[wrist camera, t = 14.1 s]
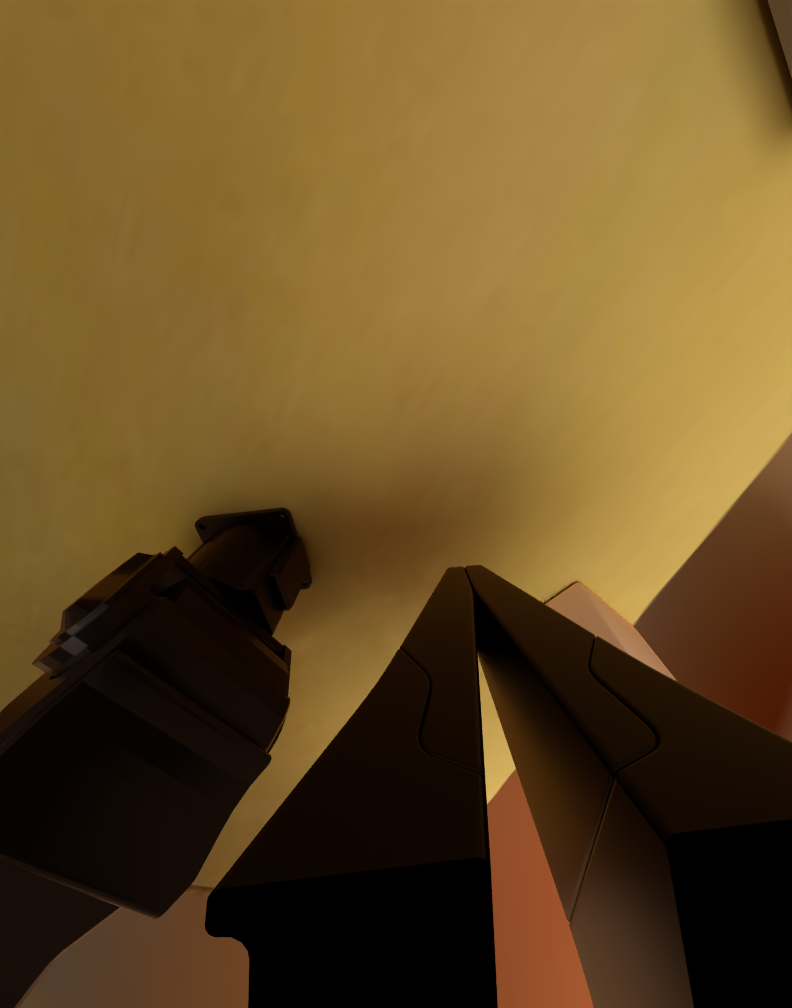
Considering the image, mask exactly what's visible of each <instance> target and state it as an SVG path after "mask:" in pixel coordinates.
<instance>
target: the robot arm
mask: <svg viewBox="0 0 792 1008" xmlns="http://www.w3.org/2000/svg"><path fill="white" fill-rule="evenodd" d="M279 514H281V515H283V516H284V517H285V518H281V517H280V516H279ZM202 523H203V524H205V526H206V527H205V526H203V524H202ZM195 527H196V530H197V532H198V534H199V536H200V538H201V540H202V542H203V544H202V545H201V546H200V547H199V548H198V549H197V550H196V551H194V552H193V553H192V554H191V555H190V556H189V557H188V558H187V559H186V558H185V557H183V556H182V555H183V553H182V552H181V551H180V550H179V549H178V548H177V547H176V546H174V547H173V548H171V549H170V550H168V551H167V552H165V553H164V554H162V553H161V552H160V553H158V554H156V555H155V554H154V555H149V554H143V553H137V554H135V555H134V556H133V557H131V558H130V559H128V560H127V561H126V562H124V563H123V564H122V565H121V566H119V567H118V568H117V569H115V570H114V571H113V572H111V573H110V574H109V575H107V576H106V577H105V578H103V579H102V580H101V581H100V582H98V583H97V584H96V585H95V586H93V587H92V588H91V589H90V590H88V591H87V592H86V593H85V594H84V595H82V596H81V597H80V598H79V599H77V600H76V601H75V602H74V603H73V604H71V605H70V606H69V607H68V608H66V609H65V610H64V611H63V614H62V621H61V628H60V631H59V632H58V633H57V634H56V635H55V636H54V637H53V638H52V639H51V640H50V643H51V644H50V645H49V646H48V647H47V648H46V649H45V650H44V651H43V652H42V653H41V654H40V655H39V656H38V657H37V658H36V659H35V661H34V662H33V663H32V664H33V665H34V666H36V667H38V668H39V669H41V670H43V671H44V672H45V673H44V674H43V675H42V676H41V677H40V678H38V679H37V680H36V681H35V682H34V683H32V684H31V685H30V686H29V687H28V688H27V689H25V690H24V691H23V692H22V693H21V694H20V695H18V696H17V697H16V698H15V699H14V700H13V701H11V702H10V703H9V704H8V705H7V706H6V707H5V708H4V709H3V710H2V711H1V712H0V1008H19V1007H20V1006H21V1004H22V1003H23V1002H24V1000H25V999H26V998H27V996H28V995H29V994H30V992H31V991H32V989H33V988H34V987H35V986H36V984H37V983H38V982H39V980H40V979H41V978H42V977H43V975H44V974H45V973H46V971H47V970H48V969H49V968H50V967H51V965H52V964H53V963H54V961H55V960H56V959H57V958H58V957H59V956H60V955H61V954H62V953H64V952H65V951H66V950H67V949H69V948H70V947H71V946H73V945H74V944H75V943H77V942H78V941H79V940H80V939H82V938H83V937H85V936H86V935H87V934H88V933H90V932H91V931H92V930H94V929H95V928H96V927H98V926H99V925H100V924H101V923H103V922H104V921H106V920H107V919H108V918H109V917H111V916H112V915H113V914H115V913H116V912H117V911H119V910H120V909H121V908H125V909H127V910H130V911H133V912H136V913H139V914H141V915H144V916H147V917H149V918H152V919H156V918H159V917H160V916H162V915H163V914H164V913H165V912H166V911H167V910H168V909H169V908H170V907H171V905H172V904H173V903H174V902H175V901H176V900H177V899H178V898H179V897H180V896H181V895H182V894H183V893H184V892H185V890H186V889H187V888H188V887H189V886H190V885H191V884H192V883H193V881H194V880H195V879H196V877H197V875H198V873H199V872H200V870H201V868H202V866H203V864H204V862H205V860H206V858H207V857H208V855H209V853H210V851H211V849H212V847H213V845H214V844H215V842H216V840H217V838H218V836H219V834H220V832H221V831H222V829H223V827H224V825H225V824H226V822H227V820H228V818H229V817H230V815H231V813H232V811H233V810H234V809H235V807H236V806H237V804H238V803H239V801H240V800H241V798H242V797H243V795H244V794H245V793H246V791H247V790H248V788H249V787H250V786H251V784H252V783H253V782H254V781H255V780H256V779H257V777H258V776H259V775H260V774H261V773H262V772H263V771H264V769H265V768H266V767H267V766H268V765H269V763H270V761H271V755H270V754H268V753H269V752H270V750H271V749H272V747H273V745H274V744H275V742H276V740H277V738H278V736H279V734H280V732H281V730H282V727H283V724H284V721H285V718H286V714H287V712H288V709H289V706H290V698H289V697H288V691H289V678H290V665H291V653H292V652H291V650H290V649H289V648H288V647H287V646H285V645H281V644H280V643H279V642H278V641H277V640H276V639H275V638H274V637H273V636H272V635H273V633H274V631H275V629H276V627H277V625H278V623H279V621H280V619H281V617H282V615H283V612H284V611H288V610H290V609H291V608H292V606H293V604H294V602H295V600H296V597H297V595H298V593H299V591H300V589H307V588H309V587H310V585H311V583H312V578H311V575H310V572H309V569H310V565H309V562H308V559H307V556H306V553H305V549H304V546H303V543H302V540H301V538H300V537H299V536H297V533H296V530H295V527H294V524H293V521H292V518H291V515H290V513H289V511H288V510H286V509H284V508H278V509H270V510H261V511H252V512H244V513H235V514H226V515H217V516H209V517H202V518H200V519H199V520H197V521H196V522H195ZM304 581H305V582H307V583H304ZM478 656H479V660H480V663H481V666H482V669H483V672H484V675H485V678H486V681H487V684H488V687H489V690H490V693H491V696H492V698H493V701H494V704H495V707H496V710H497V713H498V716H499V719H500V722H501V725H502V728H503V731H504V734H505V737H506V740H507V743H508V746H509V749H510V752H511V755H512V758H513V761H514V764H515V767H516V770H517V773H518V776H519V778H520V781H521V784H522V787H523V790H524V793H525V796H526V799H527V802H528V805H529V808H530V811H531V814H532V817H533V820H534V823H535V826H536V829H537V832H538V835H539V838H540V841H541V844H542V847H543V849H544V852H545V856H546V858H547V861H548V864H549V867H550V870H551V873H552V876H553V879H554V882H555V885H556V888H557V891H558V894H559V897H560V900H561V903H562V906H563V909H564V912H565V915H566V918H567V920H568V921H569V922H570V925H569V926H570V929H571V932H572V935H573V938H574V941H575V944H576V948H577V951H578V954H579V957H580V960H581V963H582V967H583V971H584V974H585V977H586V980H587V984H588V988H589V991H590V995H591V999H592V1003H593V1006H594V1008H792V742H791V741H789V740H787V739H785V738H783V737H782V736H779V735H778V734H776V733H774V732H772V731H770V730H768V729H766V728H764V727H762V726H761V725H759V724H756V723H755V722H753V721H751V720H749V719H747V718H745V717H743V716H741V715H740V714H738V713H736V712H734V711H732V710H730V709H728V708H726V707H724V706H722V705H720V704H718V703H717V702H715V701H713V700H711V699H709V698H707V697H705V696H703V695H701V694H699V693H698V692H695V691H694V690H691V689H690V688H688V687H686V686H685V685H683V684H681V683H679V682H677V681H675V680H673V679H672V678H670V677H668V676H666V675H664V674H662V673H660V672H659V671H657V670H655V669H653V668H651V667H650V666H648V665H646V664H644V663H643V662H641V661H639V660H638V659H636V658H634V657H632V656H631V655H629V654H627V653H626V652H624V651H622V650H620V649H619V648H617V647H615V646H614V645H612V644H610V643H609V642H607V641H606V640H604V639H602V638H601V637H599V636H596V637H595V635H594V634H593V633H591V632H590V631H588V630H586V629H585V628H583V627H581V626H580V625H578V624H576V623H575V622H573V621H572V620H570V619H568V618H567V617H565V616H563V615H562V614H560V613H559V612H557V611H555V610H554V609H552V608H550V607H549V606H547V605H545V604H544V603H542V602H541V601H539V600H537V599H536V598H534V597H532V596H531V595H529V594H528V593H526V592H524V591H523V590H521V589H519V588H518V587H516V586H514V585H513V584H511V583H510V582H508V581H506V580H505V579H503V578H501V577H500V576H498V575H496V574H495V573H493V572H492V571H490V570H488V569H487V568H485V567H483V566H482V565H472V566H466V567H465V569H464V567H450V568H448V569H447V570H446V572H445V574H444V575H443V577H442V579H441V580H440V582H439V584H438V585H437V587H436V588H435V590H434V592H433V593H432V595H431V597H430V598H429V600H428V602H427V603H426V605H425V607H424V608H423V610H422V612H421V613H420V615H419V617H418V618H417V620H416V622H415V623H414V625H413V627H412V628H411V630H410V632H409V633H408V635H407V637H406V638H405V640H404V642H403V643H402V645H401V647H400V649H399V650H398V651H397V652H396V654H395V656H394V657H393V659H392V661H391V662H390V664H389V665H388V667H387V668H386V670H385V671H384V673H383V675H382V676H381V678H380V679H379V681H378V682H377V684H376V685H375V686H374V688H373V689H372V690H371V692H370V693H369V694H368V696H367V697H366V698H365V700H364V701H363V702H362V703H361V705H360V706H359V707H358V709H357V710H356V711H355V713H354V714H353V715H352V716H351V718H350V719H349V720H348V721H347V723H346V724H345V725H344V726H343V728H342V729H341V730H340V731H339V733H338V734H337V735H336V736H335V738H334V739H333V740H332V741H331V743H330V744H329V745H328V746H327V748H326V749H325V750H324V752H323V753H322V754H321V755H320V757H319V758H318V759H317V760H316V762H315V763H314V764H313V765H312V767H311V768H310V769H309V770H308V772H307V773H306V774H305V775H304V777H303V778H302V779H301V780H300V782H299V783H298V784H297V785H296V787H295V788H294V789H293V790H292V792H291V793H290V794H289V796H288V797H287V798H286V799H285V801H284V802H283V803H282V804H281V806H280V807H279V808H278V809H277V811H276V812H275V813H274V814H273V816H272V817H271V818H270V819H269V821H268V822H267V823H266V824H265V826H264V827H263V828H262V829H261V831H260V832H259V833H258V835H257V836H256V837H255V838H254V840H253V841H252V842H251V843H250V845H249V846H248V847H247V848H246V850H245V851H244V852H243V853H242V855H241V856H240V857H239V858H238V860H237V861H236V862H235V863H234V865H233V866H232V867H231V868H230V870H229V871H228V872H227V873H226V875H225V876H224V877H223V879H222V880H221V881H220V882H219V884H218V885H217V886H216V887H215V889H214V890H213V891H212V892H211V894H210V895H209V897H208V900H207V909H206V920H205V929H206V931H207V933H208V934H209V935H211V936H213V937H232V938H234V939H236V940H238V941H240V942H242V944H243V945H244V946H245V948H246V949H247V951H248V955H249V1001H248V1002H249V1003H248V1008H498V1006H497V986H496V965H495V945H494V925H493V904H492V884H491V864H490V848H489V832H488V817H487V799H486V784H485V767H484V751H483V735H482V718H481V702H480V686H479V670H478Z"/></svg>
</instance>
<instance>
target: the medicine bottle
mask: <svg viewBox="0 0 792 1008" xmlns="http://www.w3.org/2000/svg"><path fill="white" fill-rule="evenodd" d="M545 605H547V606H549V607H550V608H552V609H554V610H555V611H557V612H559V613H560V614H562V615H563V616H565V617H567V618H568V619H570V620H572V621H573V622H575V623H576V624H578V625H580V626H581V627H583V628H585V629H586V630H588V631H590V632H591V633H593V634H594V635H595V637H596V636H599V637H601V638H602V639H604V640H606V641H607V642H609V643H610V644H612V645H614V646H615V647H617V648H619V649H620V650H622V651H624V652H626V653H627V654H629V655H631V656H632V657H634V658H636V659H638V660H639V661H641V662H643V663H644V664H646V665H648V666H650V667H651V668H653V669H655V670H657V671H659V672H660V673H662V674H664V675H666V676H668V677H670V678H672V679H673V680H675V681H676V679H675V678H674V677H673V676H672V674H671V673H670V672H669V671H668V669H667V668H666V667H665V666H664V664H663V663H662V662H661V661H660V659H659V658H658V657H657V656H656V654H655V653H654V652H653V650H652V649H651V648H650V647H649V645H648V644H647V643H646V642H645V640H644V639H643V638H642V637H641V635H640V634H639V633H638V632H637V630H636V629H635V628H634V627H633V626H631V625H630V624H629V623H628V622H627V621H626V620H624V619H623V618H622V617H621V616H620V615H619V614H617V613H616V612H615V611H614V610H613V609H611V608H610V607H609V606H608V605H607V604H606V603H604V602H603V601H602V600H601V599H600V598H599V597H597V596H596V595H595V594H594V593H593V592H591V591H590V590H589V589H588V588H587V587H586V586H584V585H583V584H582V583H580V582H579V583H575V584H573V585H572V586H571V587H569V588H568V589H566V590H565V591H563V592H562V593H560V594H559V595H557V596H556V597H555V598H553V599H552V600H550V601H549V602H547V603H546V604H545Z"/></svg>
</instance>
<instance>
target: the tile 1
mask: <svg viewBox="0 0 792 1008" xmlns="http://www.w3.org/2000/svg"><path fill="white" fill-rule="evenodd" d="M768 3H769V7H770V10H771V13H772V16H773V19H774V23H775V26H776V29H777V32H778V35H779V39H780V42H781V45H782V48H783V52H784V55H785V58H786V61H787V64H788V68H789V71H790V74H791V77H792V0H768Z"/></svg>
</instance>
